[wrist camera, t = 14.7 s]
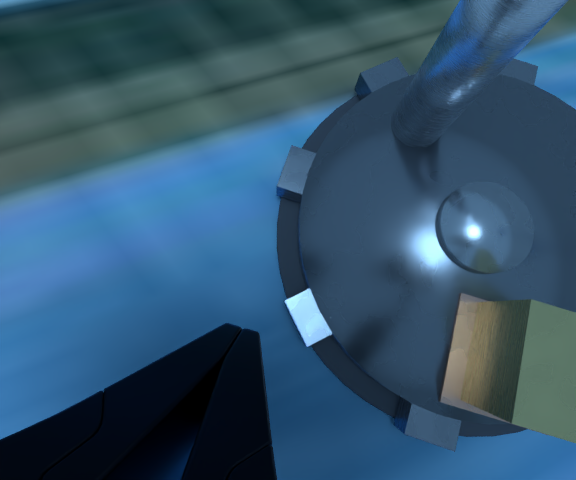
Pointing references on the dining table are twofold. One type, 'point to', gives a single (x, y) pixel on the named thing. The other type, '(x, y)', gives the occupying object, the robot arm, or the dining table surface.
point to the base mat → (327, 345)
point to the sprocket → (437, 211)
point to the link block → (524, 365)
